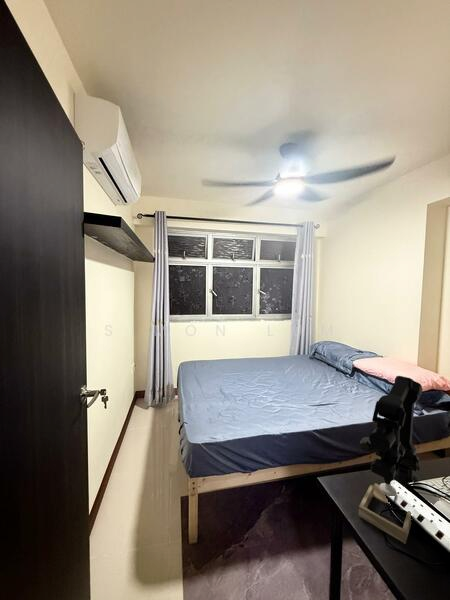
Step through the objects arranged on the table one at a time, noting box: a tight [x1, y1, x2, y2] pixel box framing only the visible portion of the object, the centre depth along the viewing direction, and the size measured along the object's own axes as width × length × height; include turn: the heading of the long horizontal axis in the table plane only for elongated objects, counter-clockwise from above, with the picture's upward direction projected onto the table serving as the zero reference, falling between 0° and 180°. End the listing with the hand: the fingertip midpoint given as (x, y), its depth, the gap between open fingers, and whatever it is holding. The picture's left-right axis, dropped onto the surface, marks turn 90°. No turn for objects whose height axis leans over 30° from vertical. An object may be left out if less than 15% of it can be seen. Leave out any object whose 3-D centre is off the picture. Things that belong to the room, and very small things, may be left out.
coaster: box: [372, 482, 391, 506], centre depth 93 cm, size 7×7×1 cm
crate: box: [358, 484, 413, 545], centre depth 85 cm, size 13×13×4 cm
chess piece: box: [379, 482, 398, 496], centre depth 85 cm, size 5×5×10 cm
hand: (388, 482), depth 85 cm, fingers closed on chess piece
